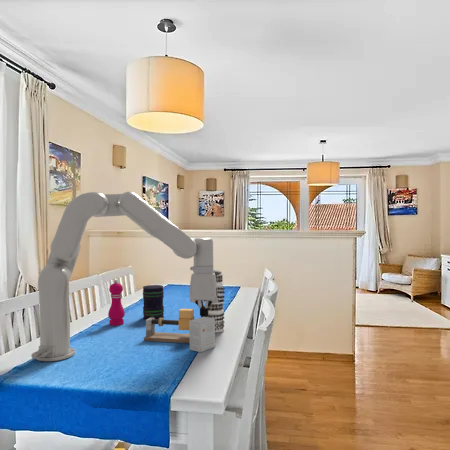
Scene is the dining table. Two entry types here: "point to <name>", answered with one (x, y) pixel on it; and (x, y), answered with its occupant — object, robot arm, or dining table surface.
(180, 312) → the wooden slider block
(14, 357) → the dining table surface
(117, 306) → the pepper mill
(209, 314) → the decorative candle
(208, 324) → the small box
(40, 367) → the dining table surface
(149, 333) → the slider rail stand
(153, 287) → the storage jar
